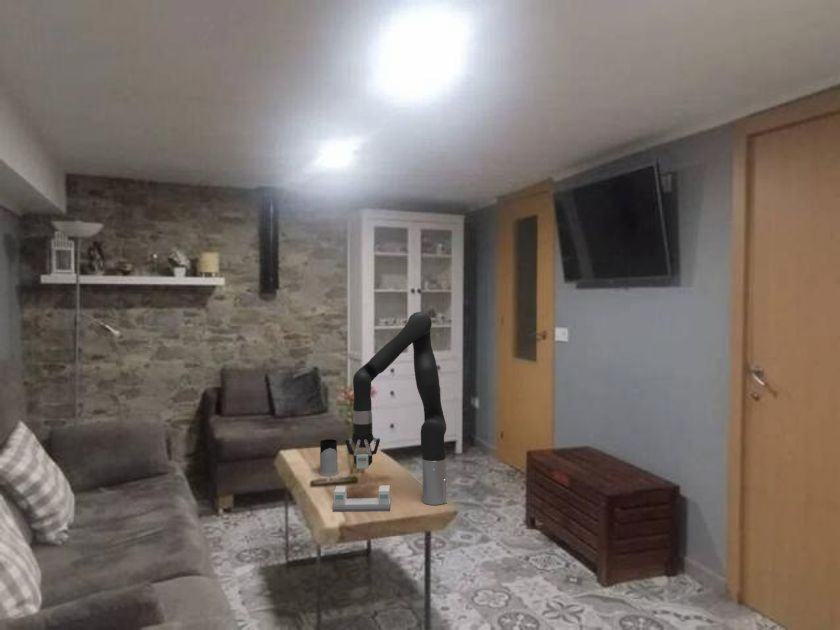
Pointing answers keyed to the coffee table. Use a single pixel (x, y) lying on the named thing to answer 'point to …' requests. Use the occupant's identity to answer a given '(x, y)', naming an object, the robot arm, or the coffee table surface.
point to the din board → (361, 501)
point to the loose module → (362, 460)
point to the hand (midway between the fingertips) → (363, 464)
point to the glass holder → (328, 457)
